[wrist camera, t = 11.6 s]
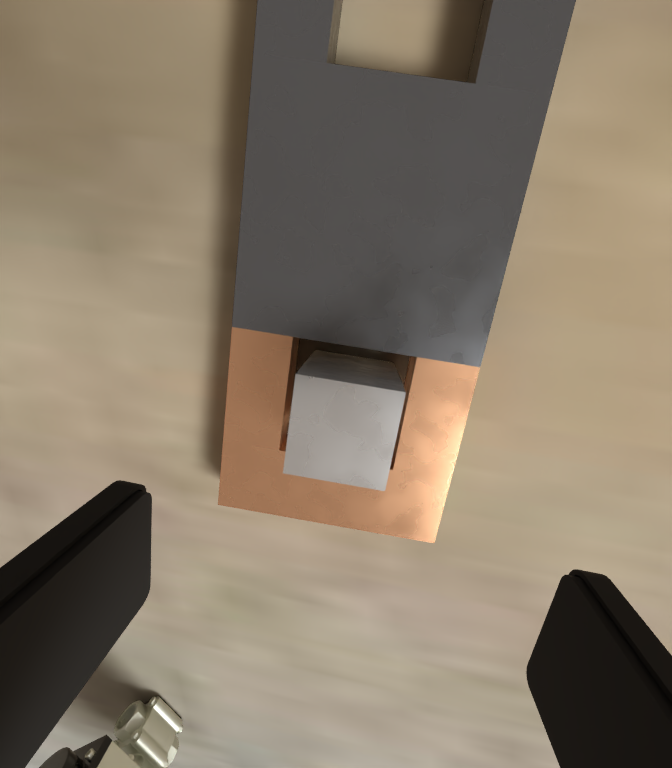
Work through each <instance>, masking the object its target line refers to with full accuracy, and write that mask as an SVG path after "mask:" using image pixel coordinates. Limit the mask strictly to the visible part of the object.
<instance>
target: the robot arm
mask: <svg viewBox="0 0 672 768" xmlns="http://www.w3.org/2000/svg"><path fill="white" fill-rule="evenodd" d="M151 514H152V497H151V494H150V493H147V492H146V488H145V486H143V485H141V484H136V483H131V482H126V481H116V482H114V483H112V484H111V485H110V486H108V487H107V488H106V489H104V490H103V491H102V492H100V493H99V494H98V495H96V496H95V497H94V498H92V499H91V500H90V501H88V502H87V503H86V504H84V505H83V506H82V507H80V508H79V509H78V510H76V511H75V512H74V513H72V514H71V515H70V516H68V517H67V518H66V519H64V520H63V521H62V522H60V523H59V524H58V525H56V526H55V527H54V528H52V529H51V530H50V531H48V532H47V533H46V534H45V535H43V536H42V537H41V538H39V539H38V540H37V541H35V542H34V543H33V544H31V545H30V546H29V547H27V548H26V549H25V550H23V551H22V552H21V553H19V554H18V555H17V556H15V557H14V558H13V559H11V560H10V561H9V562H7V563H6V564H5V565H3V566H2V567H1V568H0V768H25V767H26V765H27V764H28V762H29V761H30V760H31V758H32V757H33V756H34V754H35V753H36V751H37V750H38V749H39V747H40V746H41V745H42V743H43V742H44V740H45V739H46V738H47V736H48V735H49V733H50V732H51V731H52V729H53V728H54V727H55V725H56V724H57V722H58V721H59V720H60V718H61V717H62V716H63V714H64V713H65V711H66V710H67V709H68V707H69V706H70V705H71V703H72V702H73V700H74V699H75V698H76V696H77V695H78V693H79V692H80V691H81V689H82V688H83V687H84V685H85V684H86V682H87V681H88V680H89V678H90V677H91V676H92V674H93V673H94V671H95V670H96V669H97V667H98V666H99V665H100V663H101V662H102V660H103V659H104V658H105V656H106V655H107V653H108V652H109V651H110V649H111V648H112V647H113V645H114V644H115V642H116V641H117V640H118V638H119V637H120V636H121V634H122V633H123V631H124V630H125V629H126V627H127V626H128V625H129V623H130V622H131V620H132V619H133V618H134V616H135V615H136V613H137V612H138V611H139V609H140V608H141V607H142V605H143V604H144V602H145V600H146V598H147V596H148V593H149V590H150V576H151ZM527 681H528V685H529V688H530V691H531V693H532V696H533V698H534V701H535V704H536V706H537V709H538V711H539V714H540V717H541V719H542V722H543V724H544V727H545V729H546V732H547V735H548V737H549V740H550V742H551V745H552V747H553V750H554V753H555V755H556V758H557V760H558V763H559V765H560V768H672V656H671V654H670V653H669V652H668V651H667V649H666V648H665V647H664V646H663V644H662V643H661V642H660V641H659V639H658V638H657V637H656V636H655V635H654V633H653V632H652V631H651V630H650V628H649V627H648V626H647V625H646V623H645V622H644V621H643V620H642V618H641V617H640V616H639V615H638V613H637V612H636V611H635V610H634V609H633V607H632V606H631V605H630V604H629V602H628V601H627V600H626V599H625V597H624V596H623V595H622V594H621V592H620V591H619V590H618V589H617V587H616V586H615V585H614V584H613V582H612V581H611V580H610V579H609V578H608V577H607V576H605V575H602V574H598V573H593V572H587V571H582V570H572V571H571V572H570V573H569V575H564V576H563V577H562V578H561V580H560V583H559V585H558V588H557V591H556V593H555V596H554V598H553V601H552V603H551V606H550V609H549V611H548V614H547V616H546V619H545V621H544V624H543V626H542V629H541V632H540V634H539V637H538V639H537V642H536V644H535V647H534V649H533V652H532V655H531V657H530V660H529V662H528V665H527Z"/></svg>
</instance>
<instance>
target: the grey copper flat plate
mask: <svg viewBox="0 0 672 768" xmlns="http://www.w3.org/2000/svg"><path fill="white" fill-rule="evenodd" d="M342 1H343V0H258V1H257V14H256V27H255V40H254V52H253V65H252V78H251V91H250V103H249V116H248V129H247V141H246V154H245V167H244V180H243V192H242V205H241V218H240V231H239V243H238V256H237V269H236V282H235V294H234V307H233V320H232V333H231V345H230V358H229V371H228V384H227V396H226V409H225V422H224V434H223V447H222V460H221V473H220V485H219V498H218V505H223V506H228V507H234V508H240V509H245V510H251V511H256V512H262V513H268V514H273V515H279V516H284V517H290V518H296V519H301V520H307V521H312V522H318V523H324V524H329V525H335V526H340V527H346V528H352V529H357V530H363V531H368V532H374V533H380V534H385V535H391V536H396V537H402V538H408V539H413V540H419V541H424V542H430V543H434V542H435V539H436V535H437V531H438V527H439V523H440V519H441V516H442V512H443V508H444V504H445V500H446V496H447V493H448V489H449V485H450V481H451V477H452V473H453V470H454V466H455V462H456V458H457V454H458V450H459V447H460V443H461V439H462V435H463V431H464V427H465V424H466V420H467V416H468V412H469V408H470V404H471V401H472V397H473V393H474V389H475V385H476V381H477V378H478V374H479V370H480V366H481V362H482V358H483V355H484V351H485V347H486V343H487V339H488V335H489V331H490V328H491V324H492V320H493V316H494V312H495V308H496V305H497V301H498V297H499V293H500V289H501V285H502V282H503V278H504V274H505V270H506V266H507V262H508V259H509V255H510V251H511V247H512V243H513V239H514V236H515V232H516V228H517V224H518V220H519V216H520V213H521V209H522V205H523V201H524V197H525V193H526V190H527V186H528V182H529V178H530V174H531V170H532V167H533V163H534V159H535V155H536V151H537V147H538V144H539V140H540V136H541V132H542V128H543V124H544V121H545V117H546V113H547V109H548V105H549V101H550V98H551V94H552V90H553V86H554V82H555V78H556V75H557V71H558V67H559V63H560V59H561V55H562V52H563V48H564V44H565V40H566V36H567V32H568V29H569V25H570V21H571V17H572V13H573V9H574V5H575V2H576V0H484V3H483V8H482V13H481V18H480V23H479V27H478V32H477V37H476V42H475V47H474V51H473V56H472V61H471V66H470V71H469V75H468V80H467V82H460V81H453V80H445V79H438V78H431V77H424V76H417V75H409V74H402V73H395V72H388V71H381V70H374V69H366V68H359V67H352V66H345V65H338V64H335V56H336V48H337V40H338V32H339V25H340V17H341V9H342ZM300 338H303V339H309V340H316V341H322V342H328V343H334V344H340V345H346V346H352V347H359V348H365V349H371V350H377V351H383V352H389V353H395V354H401V355H408V356H410V359H409V364H408V368H407V373H406V378H405V383H404V389H405V391H406V395H405V400H404V404H403V409H402V414H401V419H400V423H399V428H398V433H397V437H396V442H395V447H394V452H393V456H392V461H391V466H390V470H389V475H388V480H387V485H386V489H385V491H380V490H375V489H369V488H364V487H358V486H352V485H347V484H341V483H335V482H330V481H324V480H318V479H313V478H307V477H301V476H296V475H290V474H284V473H283V468H284V460H285V452H286V445H287V437H288V435H287V433H288V426H289V418H290V410H291V402H292V394H293V386H294V378H295V371H296V363H297V355H298V347H299V339H300Z"/></svg>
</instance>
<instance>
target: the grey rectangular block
mask: <svg viewBox="0 0 672 768" xmlns="http://www.w3.org/2000/svg"><path fill="white" fill-rule="evenodd" d="M405 395H406V391H405V389H404V386H403V384H402V381H401V379H400V377H399V374H398V372H397V369H396V367H395V365H394V362H388V361H382V360H375V359H369V358H363V357H357V356H351V355H345V354H339V353H333V352H327V351H321V350H315V351H314V352H313V353H312V354H311V356H310V357H309V358H308V359H307V360H306V362H305V363H304V364H303V365H302V367H301V368H300V369H299V370H298V372H297V373H296V375H295V382H294V390H293V398H292V406H291V413H290V421H289V429H288V437H287V445H286V452H285V460H284V468H283V473H284V474H290V475H296V476H301V477H307V478H313V479H318V480H324V481H330V482H335V483H341V484H347V485H352V486H358V487H364V488H369V489H375V490H380V491H385V489H386V485H387V480H388V475H389V470H390V466H391V461H392V456H393V452H394V447H395V442H396V437H397V433H398V428H399V423H400V419H401V414H402V409H403V404H404V400H405Z"/></svg>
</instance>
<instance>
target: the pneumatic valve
mask: <svg viewBox="0 0 672 768" xmlns="http://www.w3.org/2000/svg"><path fill="white" fill-rule="evenodd" d="M182 730H183V725H182V719H181V718H180V717H179V716H178V715H177V714H176V713H175V712H174V711H173V710H172V709H171V708H170V707H169V706H168V705H167V704H166V703H165V702H164V701H163V700H162V699H161V698H160V697H159V696H157V697H155V696H154V697H152V698H151V699H150V701H149V703H146V704H144V703H143V702H142V701H135V702H133V703H132V704H131V705H130V706H128V707H127V708H126V710H125V711H124V712H123V713H122V715H121V716H120V717H119V719H118V721H117V722H116V725H115V728H114V735H115V736H116V737H117V738H118V740H115V741H112V740H111V739H110V738H109V737H108V736H107V735H105V736H103V737H101V738H99V739H97V740H95V741H93V742H91V743H89V744H87V745H85V746H83V747H81V748H79V749H77V750H75V751H72V750H71V749H70V748H68V747H65V748H62V749H60V750H59V751H57V752H56V753H54V754H53V755H52V756H51V757H50V758H48V759H47V760H46V761H45V762H44V763H43V764H42V765H41V766H40V767H39V768H167V767H168V766H169V765H170V763H171V762H172V761H173V759H174V757H175V755H176V753H177V750H178V747H179V742H178V738H177V737H176V733H177V734H178V733H180V732H181V731H182Z"/></svg>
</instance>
